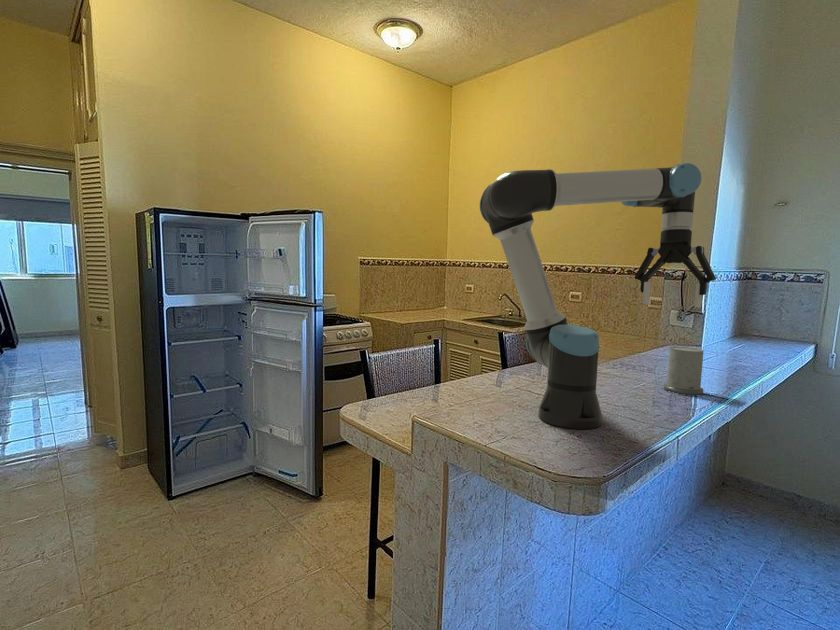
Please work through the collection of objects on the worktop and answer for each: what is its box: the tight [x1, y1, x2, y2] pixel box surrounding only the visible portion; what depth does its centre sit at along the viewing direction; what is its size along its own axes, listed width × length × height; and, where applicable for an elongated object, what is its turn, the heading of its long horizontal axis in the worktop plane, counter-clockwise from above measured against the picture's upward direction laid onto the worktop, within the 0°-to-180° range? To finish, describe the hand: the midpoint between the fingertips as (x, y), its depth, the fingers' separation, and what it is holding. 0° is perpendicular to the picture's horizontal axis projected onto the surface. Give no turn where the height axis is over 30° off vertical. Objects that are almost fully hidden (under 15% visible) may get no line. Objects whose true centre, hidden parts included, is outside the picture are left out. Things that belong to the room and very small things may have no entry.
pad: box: [663, 382, 704, 396], centre depth 142 cm, size 11×11×2 cm
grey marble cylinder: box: [666, 346, 705, 390], centre depth 142 cm, size 10×10×12 cm
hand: (670, 305), depth 123 cm, fingers open, 13 cm apart
